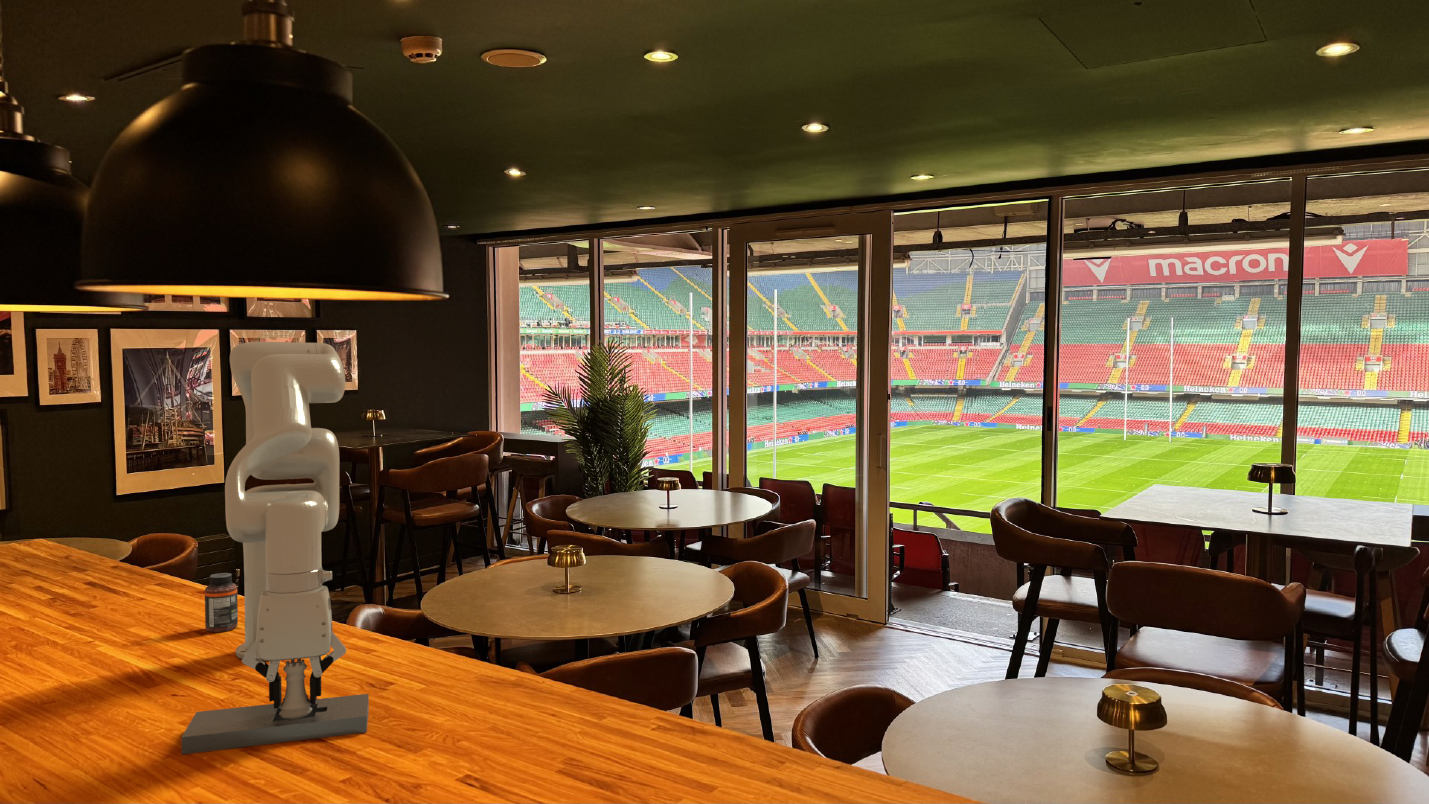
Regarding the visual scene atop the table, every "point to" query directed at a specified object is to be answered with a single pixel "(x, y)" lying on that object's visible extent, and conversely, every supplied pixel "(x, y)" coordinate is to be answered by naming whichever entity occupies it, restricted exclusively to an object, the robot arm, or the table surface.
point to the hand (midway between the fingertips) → (295, 702)
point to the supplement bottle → (221, 603)
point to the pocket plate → (274, 724)
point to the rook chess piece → (295, 691)
